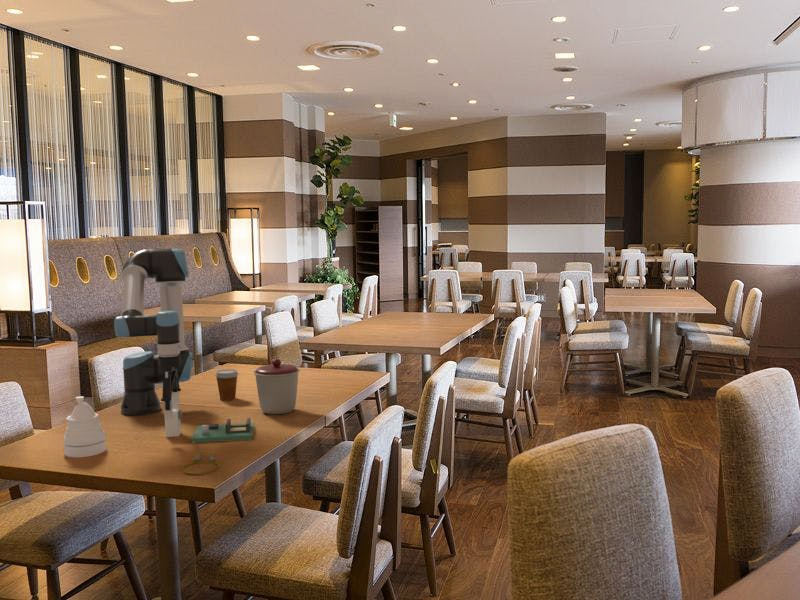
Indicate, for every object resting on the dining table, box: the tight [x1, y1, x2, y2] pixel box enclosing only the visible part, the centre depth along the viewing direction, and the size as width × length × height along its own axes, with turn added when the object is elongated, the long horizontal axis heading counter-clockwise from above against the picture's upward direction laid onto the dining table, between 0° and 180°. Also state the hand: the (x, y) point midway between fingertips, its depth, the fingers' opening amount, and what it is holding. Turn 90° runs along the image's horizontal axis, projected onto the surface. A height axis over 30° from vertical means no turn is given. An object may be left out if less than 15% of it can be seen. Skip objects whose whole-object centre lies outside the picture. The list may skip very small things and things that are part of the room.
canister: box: [253, 358, 301, 415], centre depth 291 cm, size 18×18×21 cm
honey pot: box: [63, 395, 107, 458], centre depth 244 cm, size 13×13×18 cm
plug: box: [164, 407, 183, 438], centre depth 262 cm, size 5×4×9 cm
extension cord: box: [181, 453, 221, 476], centre depth 228 cm, size 12×16×2 cm
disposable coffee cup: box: [214, 368, 239, 402], centre depth 314 cm, size 10×10×12 cm
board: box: [191, 417, 255, 443], centre depth 261 cm, size 20×16×4 cm
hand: (172, 414), depth 261 cm, fingers open, 13 cm apart
